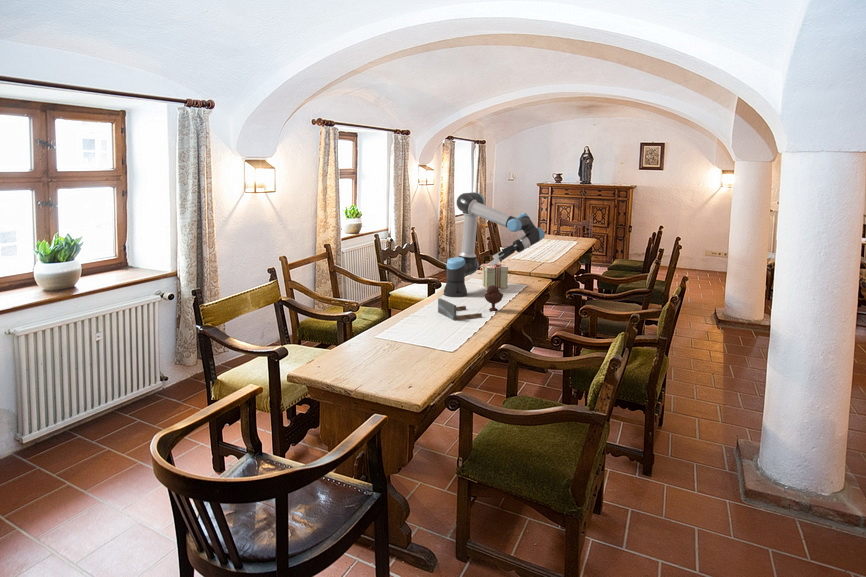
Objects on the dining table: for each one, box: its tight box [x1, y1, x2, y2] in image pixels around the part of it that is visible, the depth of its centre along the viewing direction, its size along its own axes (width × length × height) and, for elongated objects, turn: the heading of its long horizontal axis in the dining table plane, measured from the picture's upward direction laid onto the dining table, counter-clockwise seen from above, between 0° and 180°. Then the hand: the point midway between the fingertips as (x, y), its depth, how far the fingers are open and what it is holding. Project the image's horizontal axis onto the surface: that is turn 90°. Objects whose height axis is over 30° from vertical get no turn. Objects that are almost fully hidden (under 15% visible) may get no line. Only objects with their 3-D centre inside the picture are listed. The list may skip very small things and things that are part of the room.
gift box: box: [479, 262, 509, 290], centre depth 407 cm, size 17×18×17 cm
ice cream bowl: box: [483, 285, 504, 312], centre depth 342 cm, size 11×11×15 cm
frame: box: [437, 297, 483, 321], centre depth 333 cm, size 17×19×8 cm
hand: (491, 261), depth 356 cm, fingers open, 13 cm apart
